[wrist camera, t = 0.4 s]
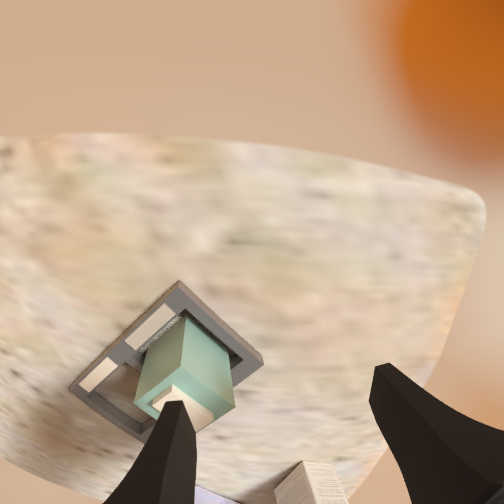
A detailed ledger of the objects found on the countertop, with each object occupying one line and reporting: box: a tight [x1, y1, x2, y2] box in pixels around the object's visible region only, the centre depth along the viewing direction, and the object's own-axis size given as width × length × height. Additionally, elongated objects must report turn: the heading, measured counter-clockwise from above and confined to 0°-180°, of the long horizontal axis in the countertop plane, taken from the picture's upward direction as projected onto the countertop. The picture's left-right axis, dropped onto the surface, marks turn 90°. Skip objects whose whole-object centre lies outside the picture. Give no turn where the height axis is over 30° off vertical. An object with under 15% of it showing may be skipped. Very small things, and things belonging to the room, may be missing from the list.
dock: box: [69, 280, 264, 444], centre depth 21 cm, size 13×8×1 cm, turn 131°
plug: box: [133, 314, 235, 433], centre depth 18 cm, size 4×4×7 cm
